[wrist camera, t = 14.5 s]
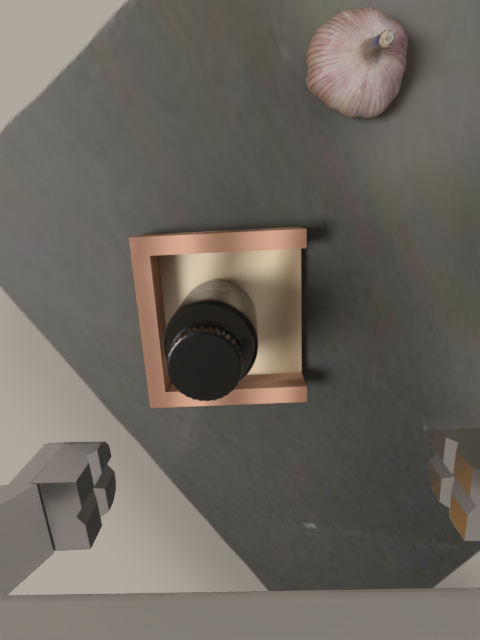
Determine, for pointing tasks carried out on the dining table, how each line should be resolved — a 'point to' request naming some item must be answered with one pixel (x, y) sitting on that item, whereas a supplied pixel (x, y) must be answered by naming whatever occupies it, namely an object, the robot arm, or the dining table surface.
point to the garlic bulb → (357, 62)
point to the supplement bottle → (211, 340)
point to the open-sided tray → (243, 270)
